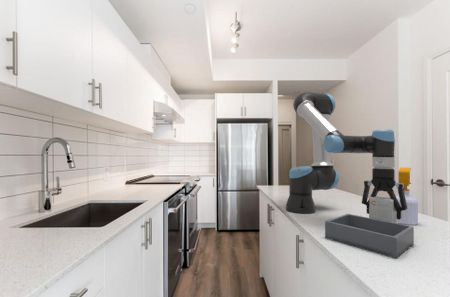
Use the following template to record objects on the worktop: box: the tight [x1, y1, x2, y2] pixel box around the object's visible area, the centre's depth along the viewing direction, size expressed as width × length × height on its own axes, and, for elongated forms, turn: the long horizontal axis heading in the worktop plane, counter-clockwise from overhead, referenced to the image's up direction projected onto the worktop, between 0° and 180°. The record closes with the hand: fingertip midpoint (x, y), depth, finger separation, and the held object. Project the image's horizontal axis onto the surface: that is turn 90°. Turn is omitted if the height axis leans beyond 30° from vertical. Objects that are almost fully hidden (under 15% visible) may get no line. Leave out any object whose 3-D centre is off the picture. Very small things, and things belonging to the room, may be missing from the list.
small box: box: [368, 195, 396, 223], centre depth 98 cm, size 8×6×13 cm
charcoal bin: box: [324, 213, 415, 259], centre depth 86 cm, size 22×18×6 cm
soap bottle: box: [395, 166, 419, 226], centre depth 110 cm, size 9×9×25 cm
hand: (383, 224), depth 98 cm, fingers closed on small box, 8 cm apart
